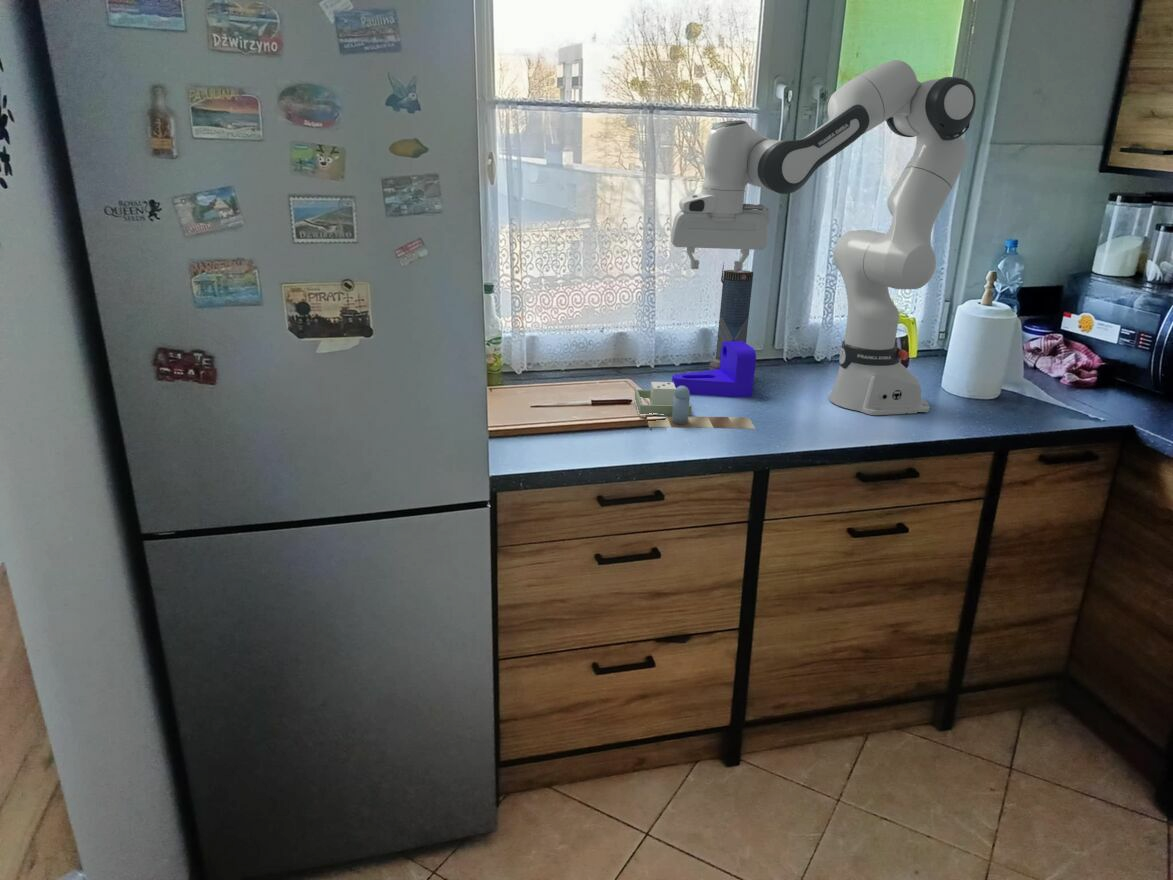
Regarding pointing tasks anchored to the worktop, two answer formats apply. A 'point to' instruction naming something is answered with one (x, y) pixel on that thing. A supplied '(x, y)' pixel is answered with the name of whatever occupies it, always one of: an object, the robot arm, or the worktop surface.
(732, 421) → the track
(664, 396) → the die
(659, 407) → the dice tray
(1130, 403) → the worktop surface
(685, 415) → the pawn
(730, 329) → the building
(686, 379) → the bracket
